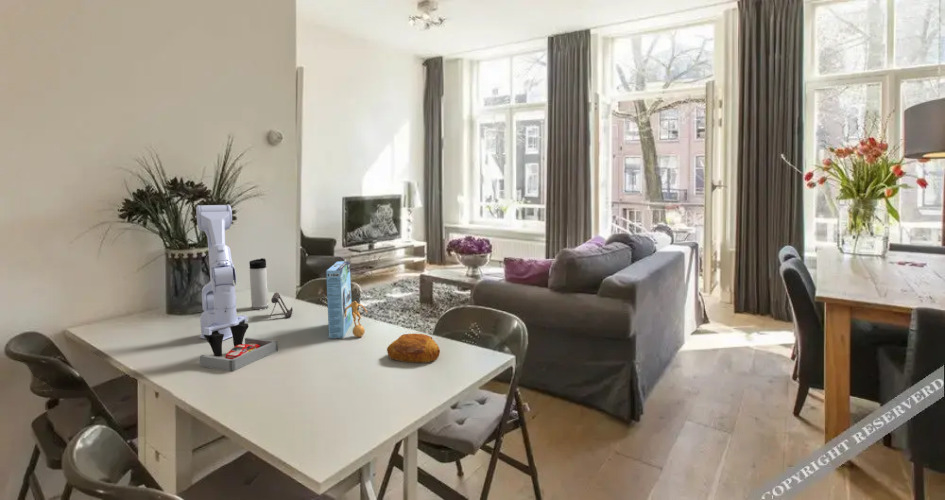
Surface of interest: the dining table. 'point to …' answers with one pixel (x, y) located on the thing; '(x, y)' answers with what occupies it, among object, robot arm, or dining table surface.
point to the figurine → (358, 329)
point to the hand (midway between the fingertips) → (228, 351)
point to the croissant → (414, 348)
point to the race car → (241, 350)
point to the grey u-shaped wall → (243, 360)
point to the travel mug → (258, 284)
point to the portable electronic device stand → (275, 300)
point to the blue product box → (339, 299)
